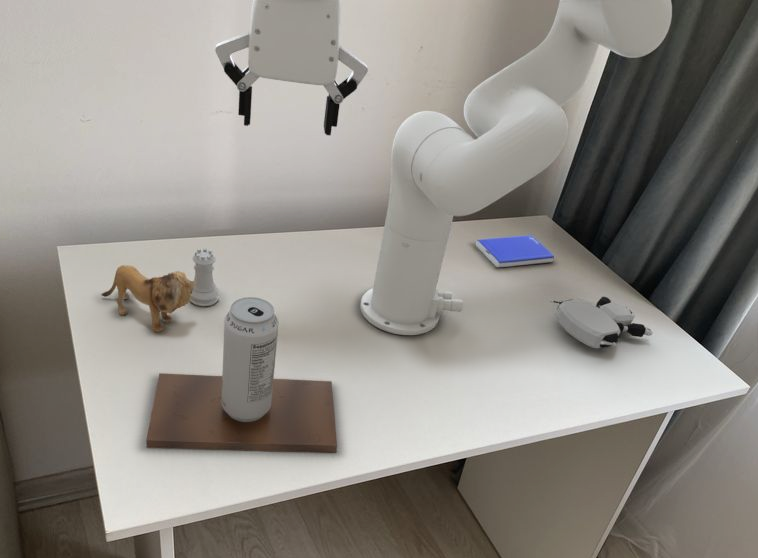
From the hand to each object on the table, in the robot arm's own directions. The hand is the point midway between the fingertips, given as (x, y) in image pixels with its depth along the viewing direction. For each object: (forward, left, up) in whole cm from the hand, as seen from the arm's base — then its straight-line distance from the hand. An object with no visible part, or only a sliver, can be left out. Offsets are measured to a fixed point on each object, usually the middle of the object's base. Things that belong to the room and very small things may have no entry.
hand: (287, 126), depth 89 cm
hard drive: (-45, -28, -31) cm, 61 cm away
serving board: (+3, +19, -30) cm, 36 cm away
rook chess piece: (+10, -6, -31) cm, 33 cm away
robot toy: (-53, -4, -31) cm, 61 cm away
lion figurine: (+17, -1, -31) cm, 35 cm away
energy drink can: (+3, +19, -29) cm, 35 cm away
